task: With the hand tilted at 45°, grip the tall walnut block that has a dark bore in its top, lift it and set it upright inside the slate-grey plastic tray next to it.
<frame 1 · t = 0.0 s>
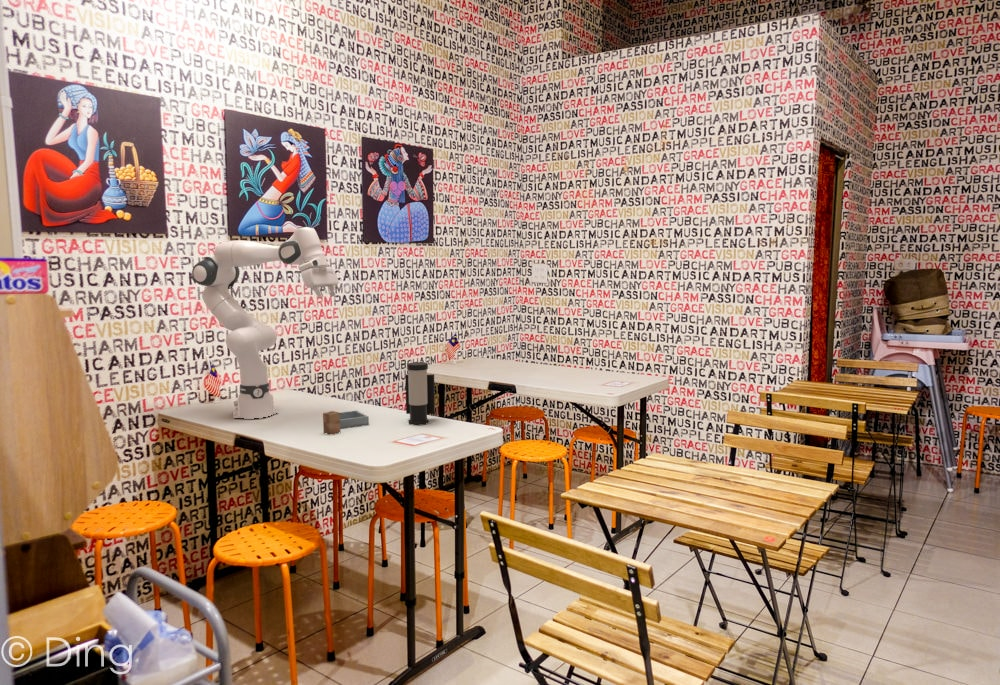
hand: (327, 296, 281), 52 cm above the table, tool tilted 20°, fingers open, 8 cm apart
light fixture: (419, 422, 285), on the table
walnut block: (332, 432, 268), on the table
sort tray: (346, 423, 283), on the table
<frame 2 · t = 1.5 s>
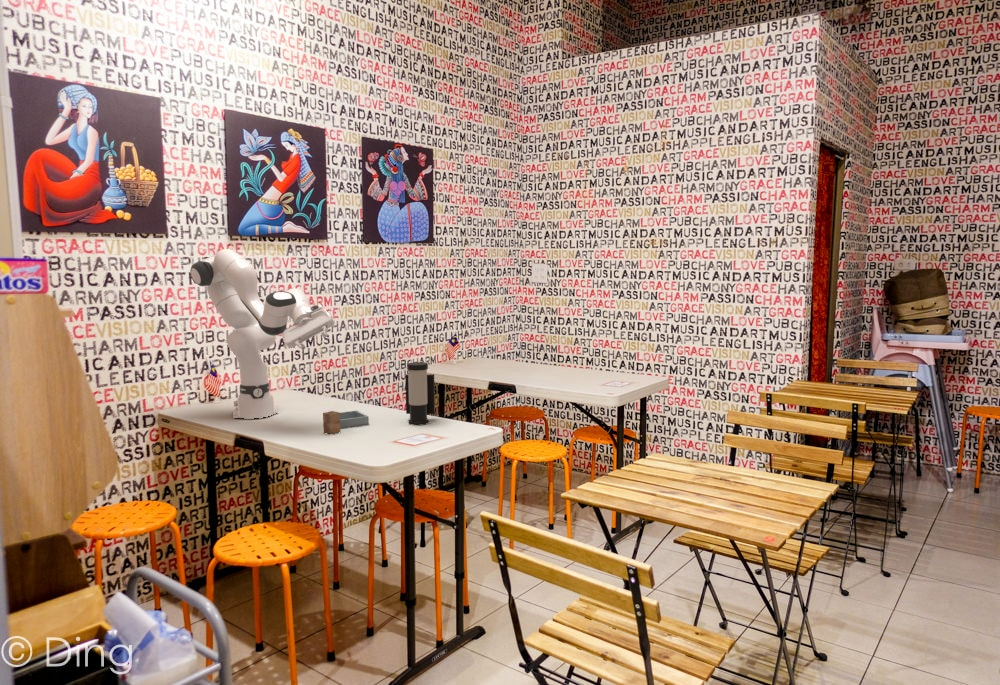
hand: (314, 342, 264), 36 cm above the table, tool tilted 55°, fingers open, 8 cm apart
nothing on the table moved.
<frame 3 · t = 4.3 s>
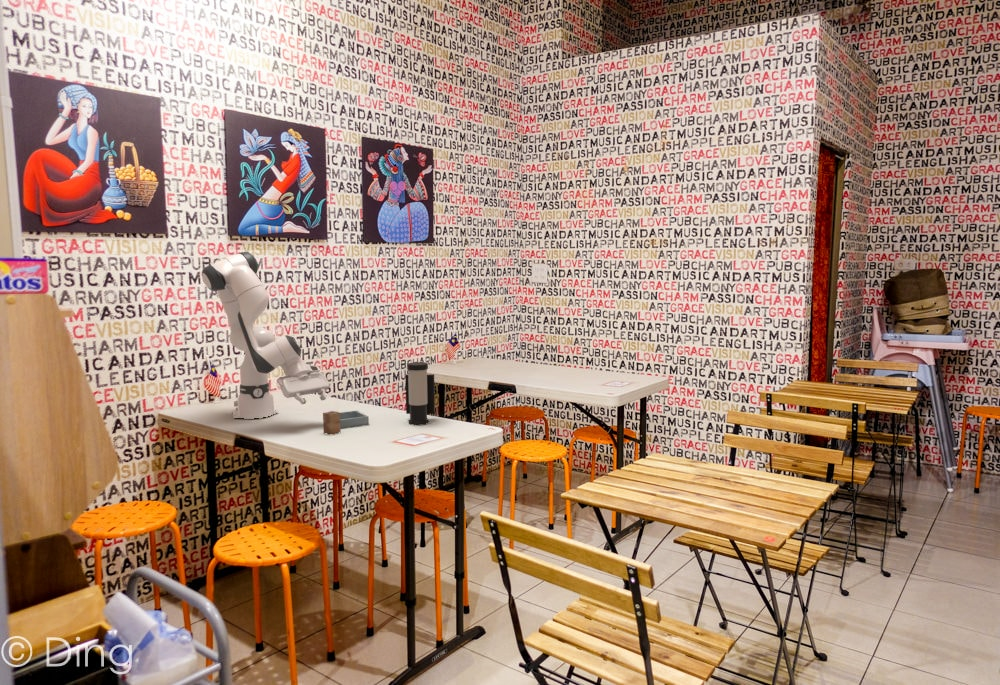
hand: (314, 401, 271), 12 cm above the table, tool tilted 45°, fingers open, 8 cm apart
nothing on the table moved.
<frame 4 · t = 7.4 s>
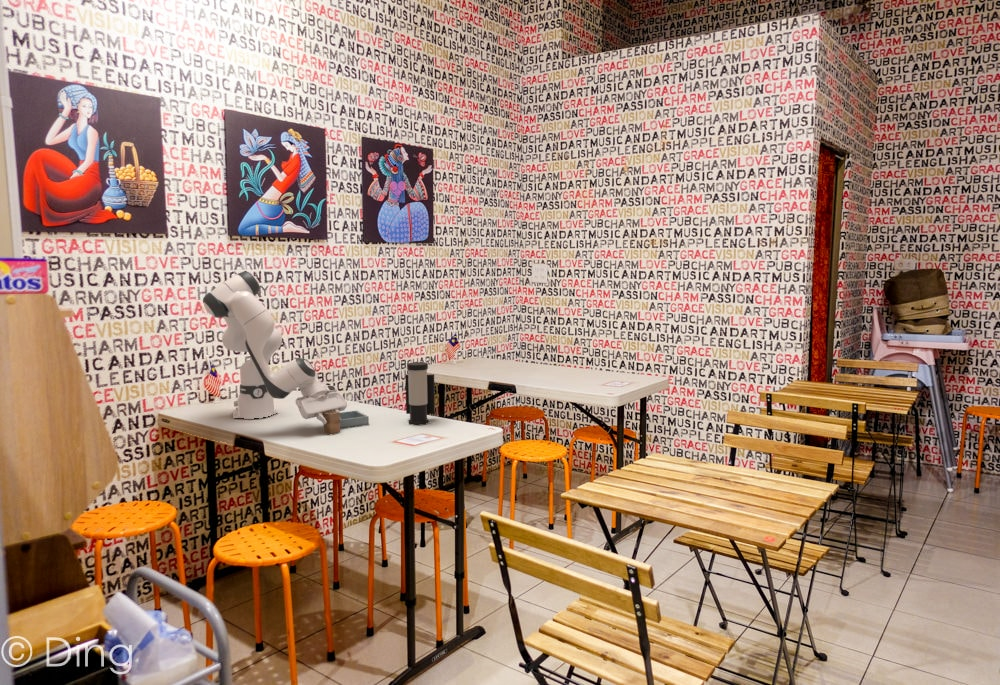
hand: (332, 421, 268), 4 cm above the table, tool tilted 45°, fingers closed on walnut block, 4 cm apart
walnut block: (332, 432, 268), on the table, touching gripper
everything else where it was.
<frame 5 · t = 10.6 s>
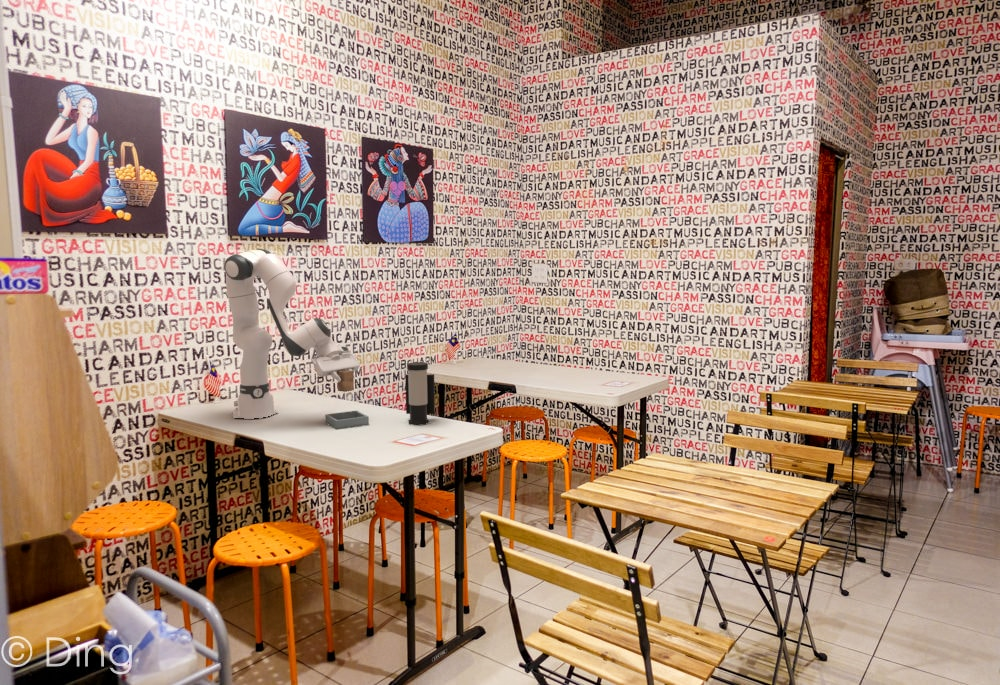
hand: (346, 380, 280), 18 cm above the table, tool tilted 45°, fingers closed on walnut block, 4 cm apart
walnut block: (345, 390, 281), point 14 cm above the table, touching gripper
everything else where it was.
when the fingers open (7 cm above the table, at t = 14.1 s): walnut block drops 2 cm, resting on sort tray.
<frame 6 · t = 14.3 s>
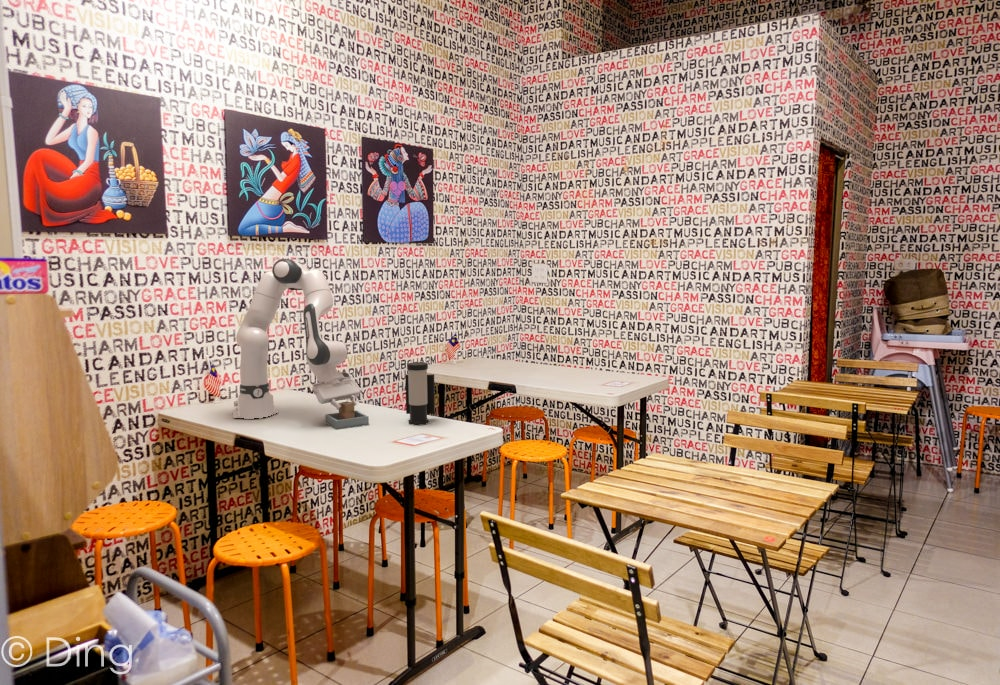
hand: (347, 406, 282), 7 cm above the table, tool tilted 45°, fingers open, 6 cm apart
walnut block: (346, 421, 283), point 1 cm above the table, touching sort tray
everything else where it was.
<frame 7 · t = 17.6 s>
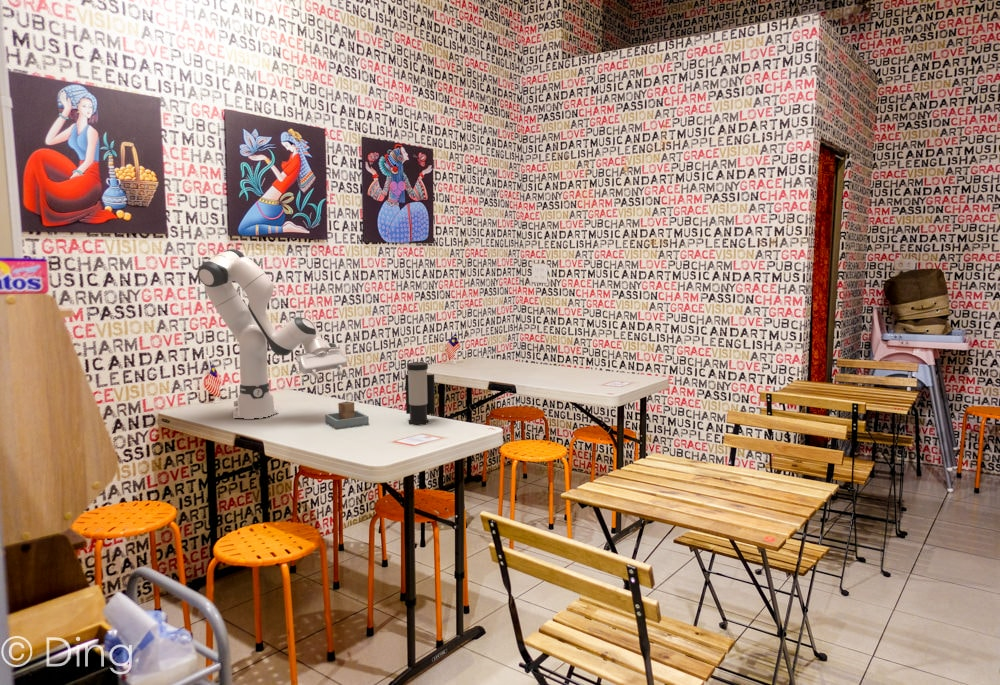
hand: (330, 376, 283), 19 cm above the table, tool tilted 45°, fingers open, 8 cm apart
nothing on the table moved.
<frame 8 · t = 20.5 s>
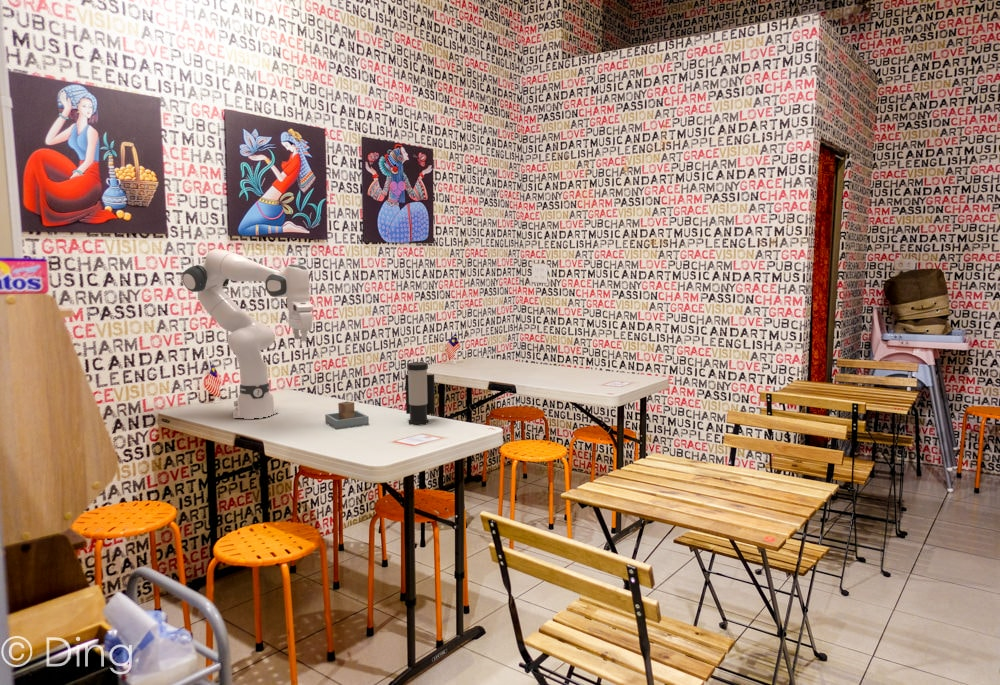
hand: (300, 340, 275), 35 cm above the table, tool pointing down, fingers open, 8 cm apart
nothing on the table moved.
at the end: walnut block inside the target area on the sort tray (0.1 cm from its centre), point 0.8 cm above the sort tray's base; walnut block tilted 0°; the gripper is holding nothing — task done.
